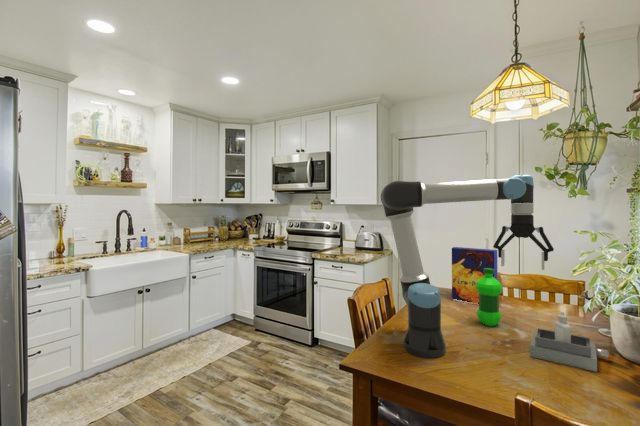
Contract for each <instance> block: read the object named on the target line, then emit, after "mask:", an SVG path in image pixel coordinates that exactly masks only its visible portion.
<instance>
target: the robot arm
mask: <svg viewBox="0 0 640 426" xmlns="http://www.w3.org/2000/svg"><path fill="white" fill-rule="evenodd" d="M534 188H535V185H534V178H533V176H532V175H529V174H522V175H520V174H519V175H512V176H511V177H508V178H497V179H496V178H494V179H493V178H492V179H479V180H464V181H462V180H461V181H448V182H447V181H446V182H445V181H444V182H430V183H423V182H422V181H420V180H419V181H404V180H403V181H402V180H394V181H391V182H390V183H389V184H387V185H386V186H385V185H384V187H383V189H382V190H381V192H380V201H381V204H382V206H383V209H384V215H385V218H386V219H387V220H389V221H390V225H391V229H392V233H393V238H394V243H395V247H396V251H397V256H398V259H399V265H400V268H401V273H402V276H401V278H400V280H399V281H400V285H401V291H402V293H401V295H402V298H403V300H404V303H405V304H406V306H407V311H408V312H407V314H408V315H407V317H408V318H407V320H408V321H407V322H408V324H407V325H408V326H407V327H408V328H407V330H406V333H405V336H404V338H403V348H404V350H405V351H406V352H408V353H409V354H411V355H414V356H416V357H420V358H427V359H428V358H432V359H433V358H439V357H443V356H444V355H445V354H446V353H447V345H446V341H445V339H444V335H443V332H442V329H441V327H442V326H441V324H442V323H441V322H442V321H441V320H442V319H441V317H442V316H441V313H442V311H441V309H442V308H441V303H442V297H441V291H440V288H438V287H437V286H436V285H432V284H431V281H430V277H429V274H427V273H426V272H424V268H423V263H422V259H421V254H420V251H419V250H420V249H419V247H418V242H417V237H416V232H415V228H414V224H413V219H412V214H413V213H414V211H415V210H414V208H422V207H423V206H424V205H427V204H431V205H432V204H441V203H442V204H446V203H461V202H463V203H465V202H478V201H479V202H480V201H481V202H482V201H499V200H510V208H511V209H510V213H511V214H512V215H510V217H511V219H510V220H511V222H510V226H507V225H503V226H501V232H500V234H499V235H498V236H497V239H496V241H495V243H493V245H492V247H493V248H494V249H495V250H497V257H498V258H500V259H501V262H500V263H501V264H500V265H501V267H504V266H505V263H506V260H505V254H506V253H505V249H503V248H505V246H507V245H508V243H510V242H511V241H512V240H513V239H514V238H515V237H516V238H517V239H519V238H524V239H527V238H530V239H531V240H532V241H533V242H534V243H535V244H536V246H537V247H539V248H540V249H541V251H542V252H541V270H542V271H544V270H545V262H548V261H549V253H551V252H554V250H555V249H554V247H553V245H552V244H551V242H550V240H549V239H548V237H547V235H546V234H545V231H544V227H543V226H537V227H535V225H534V220H535V219H534V217H535V216H534ZM508 231H511V233H512V234H510V236H508V237H507V239H505V241H503V242H502V239H503V238H504V236H505V235H506V233H507V232H508ZM535 231H536V232H537V233H539V235H540V237H541V238H542V239H543V241H544V243H545V245H546V246H547V247H545V245H544V244H543V243H542V242H541V241H540V240H539V239H538V238H537V237H536V235H534V234H533V233H534V232H535ZM501 242H502V243H501ZM500 243H501V244H500Z"/></svg>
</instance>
